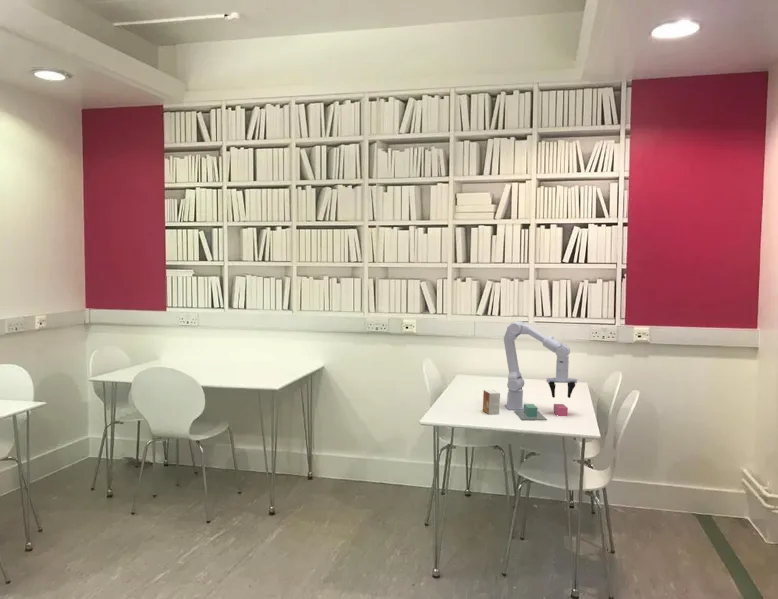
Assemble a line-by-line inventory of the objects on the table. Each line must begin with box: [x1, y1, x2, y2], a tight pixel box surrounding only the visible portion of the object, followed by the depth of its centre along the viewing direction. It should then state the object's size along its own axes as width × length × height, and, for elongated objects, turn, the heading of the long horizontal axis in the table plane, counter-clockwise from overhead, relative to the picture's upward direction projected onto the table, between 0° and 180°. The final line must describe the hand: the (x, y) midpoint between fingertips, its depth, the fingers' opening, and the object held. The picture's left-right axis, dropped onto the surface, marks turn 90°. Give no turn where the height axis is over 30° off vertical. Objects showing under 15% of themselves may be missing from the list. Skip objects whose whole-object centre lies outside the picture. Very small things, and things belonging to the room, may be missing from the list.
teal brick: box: [523, 403, 538, 417], centre depth 302 cm, size 8×5×4 cm, turn 0°
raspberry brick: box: [552, 403, 569, 417], centre depth 307 cm, size 8×5×4 cm, turn 1°
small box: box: [482, 389, 501, 415], centre depth 307 cm, size 8×6×10 cm
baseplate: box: [513, 410, 548, 421], centre depth 302 cm, size 16×12×1 cm
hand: (561, 397), depth 306 cm, fingers open, 7 cm apart
